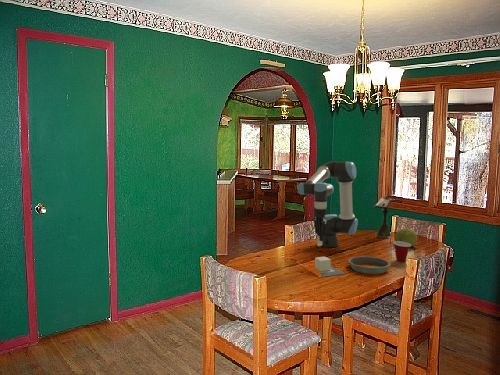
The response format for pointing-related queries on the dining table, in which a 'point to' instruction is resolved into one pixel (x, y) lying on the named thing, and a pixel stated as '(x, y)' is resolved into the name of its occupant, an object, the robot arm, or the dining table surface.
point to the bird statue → (384, 229)
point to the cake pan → (372, 260)
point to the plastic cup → (401, 250)
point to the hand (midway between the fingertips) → (319, 245)
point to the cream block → (323, 264)
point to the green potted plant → (406, 236)
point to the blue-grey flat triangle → (332, 272)
